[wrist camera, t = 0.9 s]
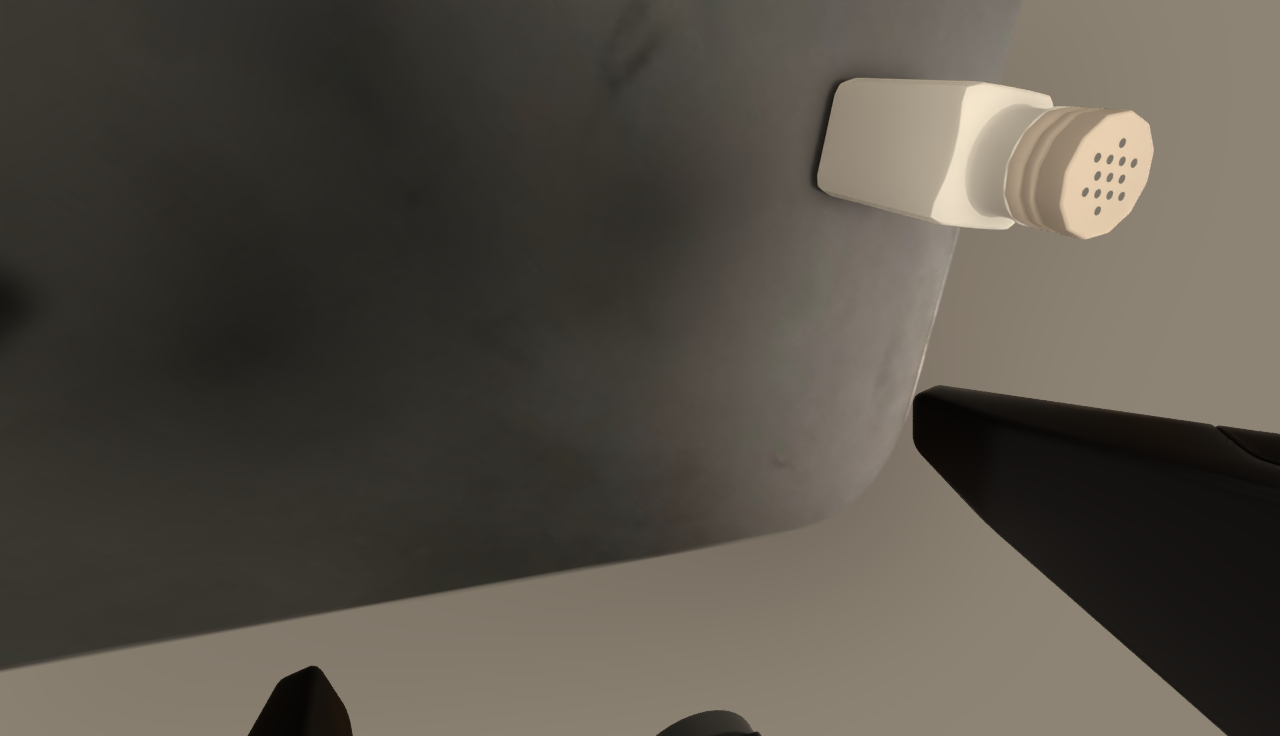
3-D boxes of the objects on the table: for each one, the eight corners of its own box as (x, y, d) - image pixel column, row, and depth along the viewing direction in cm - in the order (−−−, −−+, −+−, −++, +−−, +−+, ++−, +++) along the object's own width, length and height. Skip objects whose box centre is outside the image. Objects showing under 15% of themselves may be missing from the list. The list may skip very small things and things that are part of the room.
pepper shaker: (831, 74, 24) (1087, 81, 16) (917, 90, 25) (1188, 103, 17) (806, 191, 25) (1029, 251, 17) (889, 199, 27) (1128, 257, 19)
